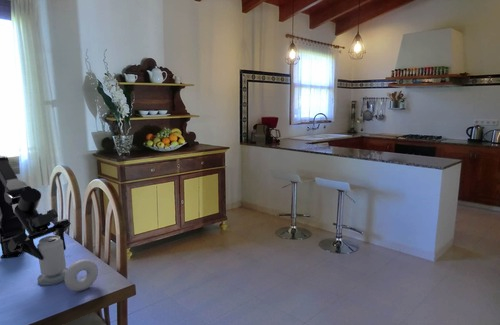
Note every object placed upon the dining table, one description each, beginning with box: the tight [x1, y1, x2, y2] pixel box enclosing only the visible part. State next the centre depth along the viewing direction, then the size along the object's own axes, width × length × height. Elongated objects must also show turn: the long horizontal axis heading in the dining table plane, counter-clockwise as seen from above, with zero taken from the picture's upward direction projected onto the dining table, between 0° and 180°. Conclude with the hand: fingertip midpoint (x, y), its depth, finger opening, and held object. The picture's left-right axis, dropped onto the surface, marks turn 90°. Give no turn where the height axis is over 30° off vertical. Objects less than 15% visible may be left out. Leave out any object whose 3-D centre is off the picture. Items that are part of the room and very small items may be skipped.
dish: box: [37, 267, 69, 287], centre depth 117 cm, size 10×10×1 cm
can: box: [36, 234, 67, 276], centre depth 115 cm, size 8×8×12 cm
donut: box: [64, 258, 99, 292], centre depth 109 cm, size 10×4×10 cm, turn 136°
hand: (54, 254), depth 115 cm, fingers closed on can, 7 cm apart
